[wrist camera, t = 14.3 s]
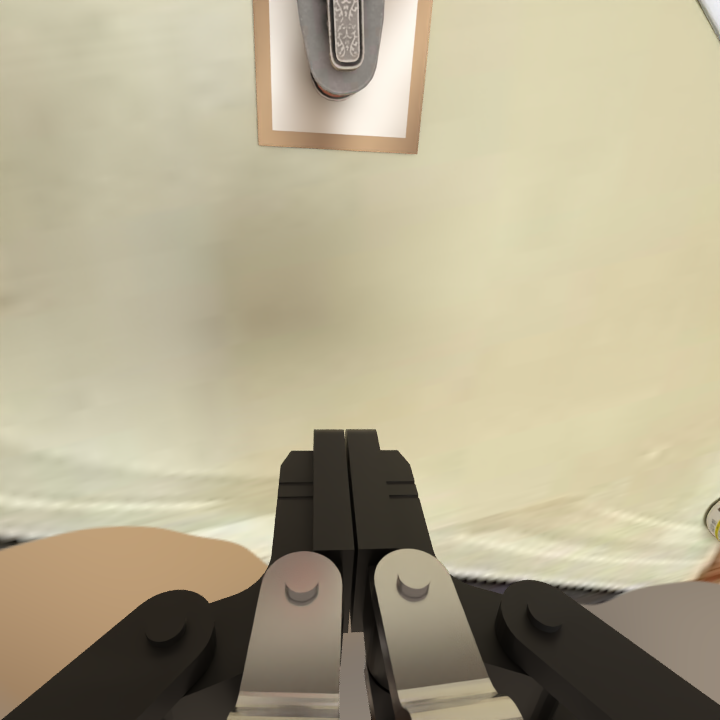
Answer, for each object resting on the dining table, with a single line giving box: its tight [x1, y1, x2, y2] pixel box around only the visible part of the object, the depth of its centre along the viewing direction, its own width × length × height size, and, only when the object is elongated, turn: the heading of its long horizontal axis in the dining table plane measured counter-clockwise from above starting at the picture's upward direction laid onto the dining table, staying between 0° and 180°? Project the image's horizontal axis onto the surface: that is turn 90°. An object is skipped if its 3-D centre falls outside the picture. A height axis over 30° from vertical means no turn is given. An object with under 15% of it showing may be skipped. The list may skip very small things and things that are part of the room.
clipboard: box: [253, 0, 433, 154], centre depth 24 cm, size 9×13×1 cm
